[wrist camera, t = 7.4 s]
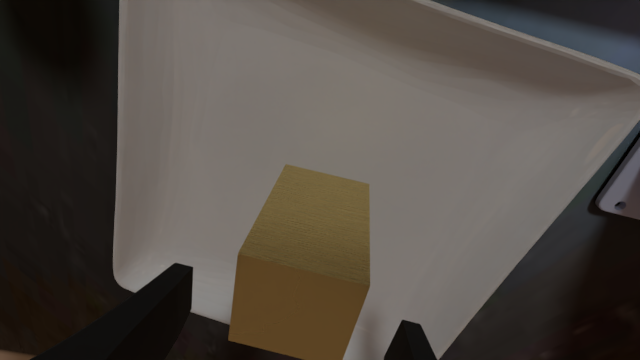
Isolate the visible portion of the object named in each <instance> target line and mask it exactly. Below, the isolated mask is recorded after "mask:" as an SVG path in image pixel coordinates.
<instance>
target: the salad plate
mask: <svg viewBox="0 0 640 360" xmlns="http://www.w3.org/2000/svg"><path fill="white" fill-rule="evenodd" d="M639 120H640V74H637V73H635V72H633V71H630V70H628V69H625V68H623V67H620V66H617V65H615V64H612V63H609V62H607V61H604V60H601V59H599V58H596V57H593V56H590V55H587V54H584V53H581V52H578V51H575V50H572V49H569V48H567V47H564V46H561V45H558V44H555V43H552V42H549V41H546V40H542V39H539V38H536V37H533V36H530V35H527V34H524V33H521V32H518V31H516V30H513V29H510V28H507V27H504V26H501V25H498V24H495V23H492V22H489V21H487V20H484V19H481V18H478V17H475V16H472V15H469V14H467V13H464V12H461V11H458V10H455V9H453V8H450V7H447V6H444V5H441V4H439V3H436V2H433V1H430V0H119V55H118V136H117V176H116V204H115V221H114V244H113V272H114V277H115V280H116V281H117V283H118V284H119V285H120V286H122V287H123V288H125V289H127V290H130V291H132V292H135V293H136V292H137V291H138V290H140V289H141V288H142V287H144V286H145V285H146V284H148V283H149V282H150V281H152V280H153V279H154V278H156V277H157V276H158V275H159V274H161V273H162V272H163V271H165V270H166V269H167V268H168V267H170V266H171V265H172V264H174V263H179V264H183V265H187V266H191V267H193V285H192V309H191V311H190V312H193V313H195V314H198V315H202V316H205V317H208V318H211V319H214V320H217V321H220V322H223V323H226V324H229V325H230V320H231V311H232V302H233V293H234V284H235V274H236V265H237V256H238V252H239V250H240V249H241V247H242V245H243V243H244V241H245V239H246V237H247V235H248V234H249V232H250V230H251V228H252V226H253V224H254V222H255V221H256V219H257V217H258V215H259V213H260V211H261V209H262V207H263V206H264V204H265V202H266V200H267V198H268V196H269V194H270V193H271V191H272V189H273V187H274V185H275V183H276V181H277V179H278V178H279V176H280V174H281V172H282V170H283V168H284V166H285V165H286V164H288V165H292V166H297V167H301V168H305V169H309V170H313V171H317V172H322V173H326V174H330V175H334V176H338V177H342V178H346V179H351V180H355V181H359V182H363V183H367V184H369V198H370V288H369V291H368V293H367V296H366V299H365V301H364V304H363V307H362V309H361V312H360V315H359V317H358V320H357V323H356V325H355V328H354V331H353V333H352V336H351V339H350V341H349V344H348V347H347V349H346V352H345V355H344V357H343V360H384V356H385V354H386V352H387V350H388V348H389V345H390V343H391V341H392V339H393V337H394V335H395V333H396V331H397V329H398V327H399V325H400V323H401V321H402V320H406V321H410V322H414V323H418V324H420V325H421V326H422V328H423V330H424V333H425V335H426V337H427V339H428V341H429V343H430V345H431V348H432V350H433V352H434V354H435V356H436V358H437V360H439V358H440V357H441V356H442V355H443V354H444V352H445V351H446V350H447V349H448V347H449V346H450V345H451V344H452V342H453V341H454V340H455V339H456V337H457V336H458V335H459V334H460V333H461V331H462V330H463V329H464V328H465V326H466V325H467V324H468V323H469V322H470V320H471V319H472V318H473V317H474V315H475V314H476V313H477V312H478V311H479V309H480V308H481V307H482V306H483V304H484V303H485V302H486V301H487V300H488V299H489V297H490V296H491V295H492V294H493V293H494V291H495V290H496V289H497V288H498V287H499V285H500V284H501V283H502V282H503V281H504V279H505V278H506V277H507V276H508V275H509V273H510V272H511V271H512V270H513V268H514V267H515V266H516V265H517V264H518V262H519V261H520V260H521V259H522V258H523V257H524V256H525V254H526V253H527V252H528V251H529V250H530V249H531V247H532V246H533V245H534V244H535V243H536V242H537V240H538V239H539V238H540V237H541V236H542V235H543V233H544V232H545V231H546V230H547V229H548V228H549V226H550V225H551V224H552V223H553V222H554V220H555V219H556V218H557V217H558V216H559V215H560V214H561V212H562V211H563V210H564V209H565V208H566V207H567V206H568V204H569V203H570V202H571V201H572V200H573V198H574V197H575V196H576V195H577V194H578V192H579V191H580V190H581V189H582V188H583V186H584V185H585V184H586V183H587V182H588V181H589V180H590V178H591V177H592V176H593V175H594V174H595V173H596V172H597V170H598V169H599V168H600V167H601V166H602V164H603V163H604V162H605V161H606V160H607V158H608V157H609V156H610V155H611V154H612V153H613V152H614V150H615V149H616V148H617V147H618V146H619V145H620V143H621V142H622V141H623V140H624V139H625V137H626V136H627V135H628V134H629V132H630V131H631V130H632V129H633V128H634V126H635V125H636V124H637V123H638V121H639Z"/></svg>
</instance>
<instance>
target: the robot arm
mask: <svg viewBox="0 0 640 360" xmlns="http://www.w3.org/2000/svg"><path fill="white" fill-rule="evenodd" d="M595 202H596V205H597V207H599V208H600V209H601V210H603V211H606V212H610V213H614V214H618V215H622V216H626V217H630V218H634V219H639V220H640V138H639V139H638V141H637V142H636V144H635V145H634V147H633V148H632V149H631V151H630V152H629V154H628V155H627V156H626V158H625V159H624V161H623V162H622V163H621V165H620V166H619V168H618V169H617V170H616V172H615V173H614V175H613V176H612V177H611V179H610V180H609V182H608V183H607V184H606V186H605V187H604V189H603V190H602V191H601V193H600V194H599V196H598V197H597V199H596V201H595ZM618 202H620V204H619V205H617V206H615V204H617V203H618ZM192 285H193V267H191V266H187V265H183V264H179V263H174V264H172V265H171V266H170V267H168V268H167V269H166V270H165V271H163V272H162V273H161V274H159V275H158V276H157V277H156V278H154V279H153V280H152V281H150V282H149V283H148V284H146V285H145V286H144V287H142V288H141V289H140V290H138V291H137V292H136V293H134V294H133V295H131V296H130V297H129V298H127V299H126V300H124V301H123V302H122V303H120V304H119V305H117V306H116V307H115V308H113V309H112V310H110V311H109V312H107V313H106V314H104V315H103V316H101V317H100V318H98V319H97V320H95V321H94V322H92V323H91V324H89V325H87V326H86V327H84V328H83V329H81V330H80V331H78V332H77V333H75V334H73V335H72V336H70V337H68V338H67V339H65V340H63V341H62V342H60V343H58V344H57V345H55V346H53V347H51V348H50V349H48V350H46V351H44V352H43V353H41V354H39V355H37V356H36V357H34V358H32V359H30V360H164V359H165V358H166V356H167V354H168V353H169V351H170V349H171V348H172V346H173V345H174V343H175V341H176V340H177V338H178V336H179V334H180V332H181V330H182V328H183V326H184V324H185V321H186V319H187V317H188V315H189V313H190V311H191V309H192ZM384 360H437V358H436V356H435V354H434V352H433V350H432V348H431V345H430V343H429V341H428V339H427V337H426V335H425V333H424V330H423V328H422V326H421V325H420V324H418V323H414V322H410V321H406V320H402V321H401V323H400V325H399V327H398V329H397V331H396V333H395V335H394V337H393V339H392V341H391V343H390V345H389V348H388V350H387V352H386V354H385V356H384Z"/></svg>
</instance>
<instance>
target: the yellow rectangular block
mask: <svg viewBox="0 0 640 360" xmlns="http://www.w3.org/2000/svg"><path fill="white" fill-rule="evenodd" d="M369 288H370V198H369V184H367V183H363V182H359V181H355V180H351V179H346V178H342V177H338V176H334V175H330V174H326V173H322V172H317V171H313V170H309V169H305V168H301V167H297V166H292V165H288V164H286V165H285V166H284V168H283V170H282V172H281V174H280V176H279V178H278V179H277V181H276V183H275V185H274V187H273V189H272V191H271V193H270V194H269V196H268V198H267V200H266V202H265V204H264V206H263V207H262V209H261V211H260V213H259V215H258V217H257V219H256V221H255V222H254V224H253V226H252V228H251V230H250V232H249V234H248V235H247V237H246V239H245V241H244V243H243V245H242V247H241V249H240V250H239V252H238V256H237V265H236V274H235V284H234V293H233V302H232V311H231V320H230V330H229V339H228V340H229V341H233V342H237V343H241V344H245V345H249V346H253V347H257V348H261V349H265V350H269V351H273V352H277V353H281V354H284V355H288V356H292V357H296V358H300V359H304V360H343V357H344V355H345V352H346V349H347V347H348V344H349V341H350V339H351V336H352V333H353V331H354V328H355V325H356V323H357V320H358V317H359V315H360V312H361V309H362V307H363V304H364V301H365V299H366V296H367V293H368V291H369Z"/></svg>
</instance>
